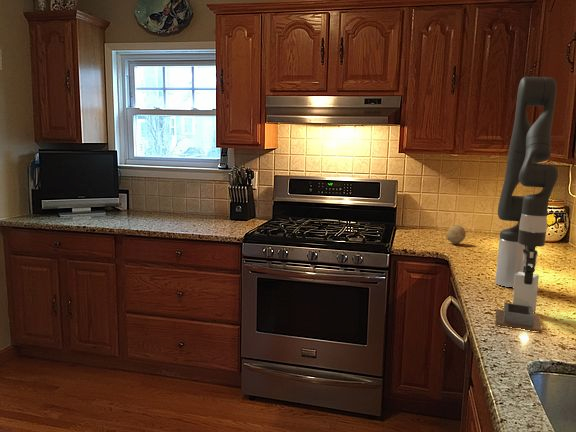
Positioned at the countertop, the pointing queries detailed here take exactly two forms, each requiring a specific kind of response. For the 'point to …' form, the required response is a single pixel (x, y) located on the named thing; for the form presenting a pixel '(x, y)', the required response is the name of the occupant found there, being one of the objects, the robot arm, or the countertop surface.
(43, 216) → the countertop surface
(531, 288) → the skincare box
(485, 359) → the countertop surface
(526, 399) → the countertop surface
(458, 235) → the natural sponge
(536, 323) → the collar
